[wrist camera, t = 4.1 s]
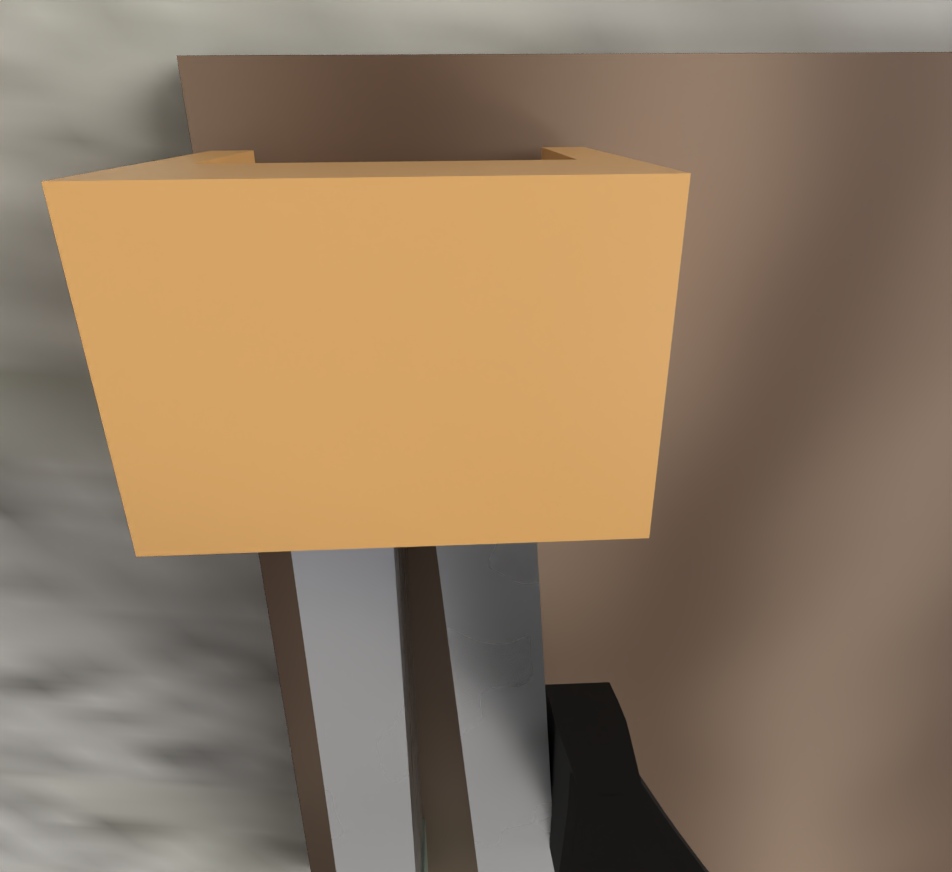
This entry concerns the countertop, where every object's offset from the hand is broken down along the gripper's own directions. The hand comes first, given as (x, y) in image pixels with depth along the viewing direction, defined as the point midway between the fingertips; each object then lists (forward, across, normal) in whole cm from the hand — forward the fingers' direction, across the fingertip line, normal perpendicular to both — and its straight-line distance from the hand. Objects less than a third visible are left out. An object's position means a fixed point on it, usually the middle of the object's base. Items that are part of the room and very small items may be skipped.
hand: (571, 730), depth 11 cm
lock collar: (+1, +2, -7) cm, 7 cm away
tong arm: (+1, +1, +1) cm, 1 cm away
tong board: (+2, -3, -2) cm, 4 cm away
